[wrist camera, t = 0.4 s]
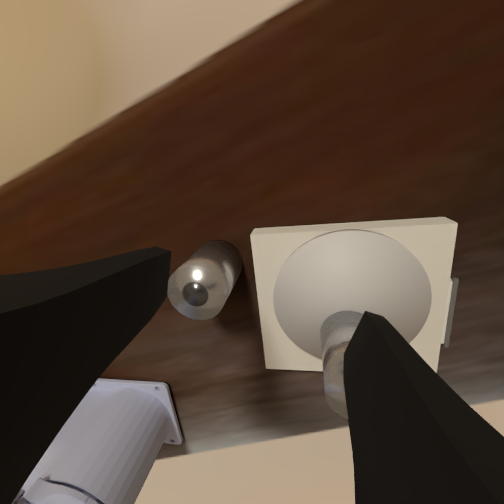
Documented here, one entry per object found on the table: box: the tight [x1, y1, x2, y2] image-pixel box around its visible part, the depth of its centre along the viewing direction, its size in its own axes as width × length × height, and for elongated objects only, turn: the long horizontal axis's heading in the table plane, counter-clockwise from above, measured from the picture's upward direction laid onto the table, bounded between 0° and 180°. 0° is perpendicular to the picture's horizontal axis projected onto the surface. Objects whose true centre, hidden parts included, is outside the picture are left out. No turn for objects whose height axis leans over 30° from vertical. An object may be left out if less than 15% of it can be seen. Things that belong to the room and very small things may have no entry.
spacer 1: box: [167, 240, 243, 320], centre depth 19 cm, size 4×4×5 cm
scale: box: [250, 217, 459, 373], centre depth 19 cm, size 12×11×2 cm
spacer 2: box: [320, 311, 363, 420], centre depth 16 cm, size 4×4×5 cm
